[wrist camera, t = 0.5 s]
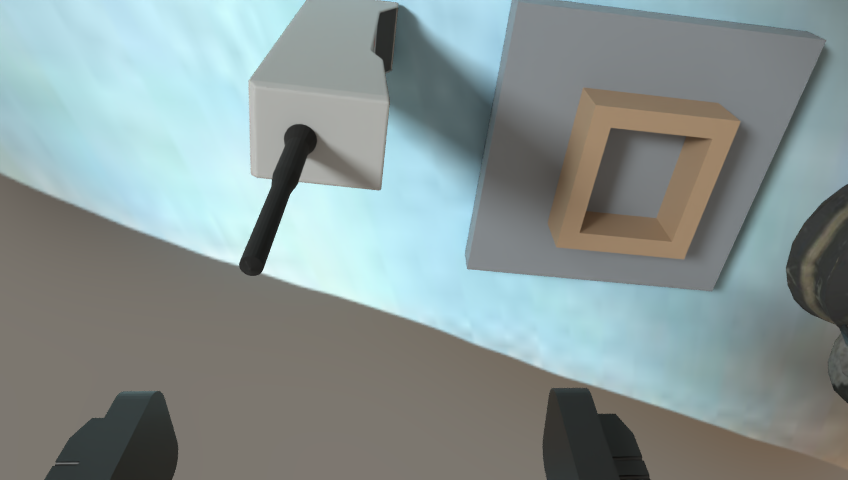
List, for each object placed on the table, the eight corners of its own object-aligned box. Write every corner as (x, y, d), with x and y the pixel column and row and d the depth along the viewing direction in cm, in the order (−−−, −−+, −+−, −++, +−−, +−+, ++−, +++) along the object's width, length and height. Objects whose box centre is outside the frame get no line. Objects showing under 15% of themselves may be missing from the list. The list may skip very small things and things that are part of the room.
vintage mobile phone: (392, 65, 38) (366, 337, 17) (310, 55, 38) (177, 320, 16) (399, 1, 36) (379, 217, 15) (312, -10, 36) (163, 196, 14)
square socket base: (512, -6, 36) (526, 14, 32) (807, 31, 37) (858, 54, 33) (464, 253, 45) (470, 294, 41) (701, 275, 47) (729, 317, 42)
